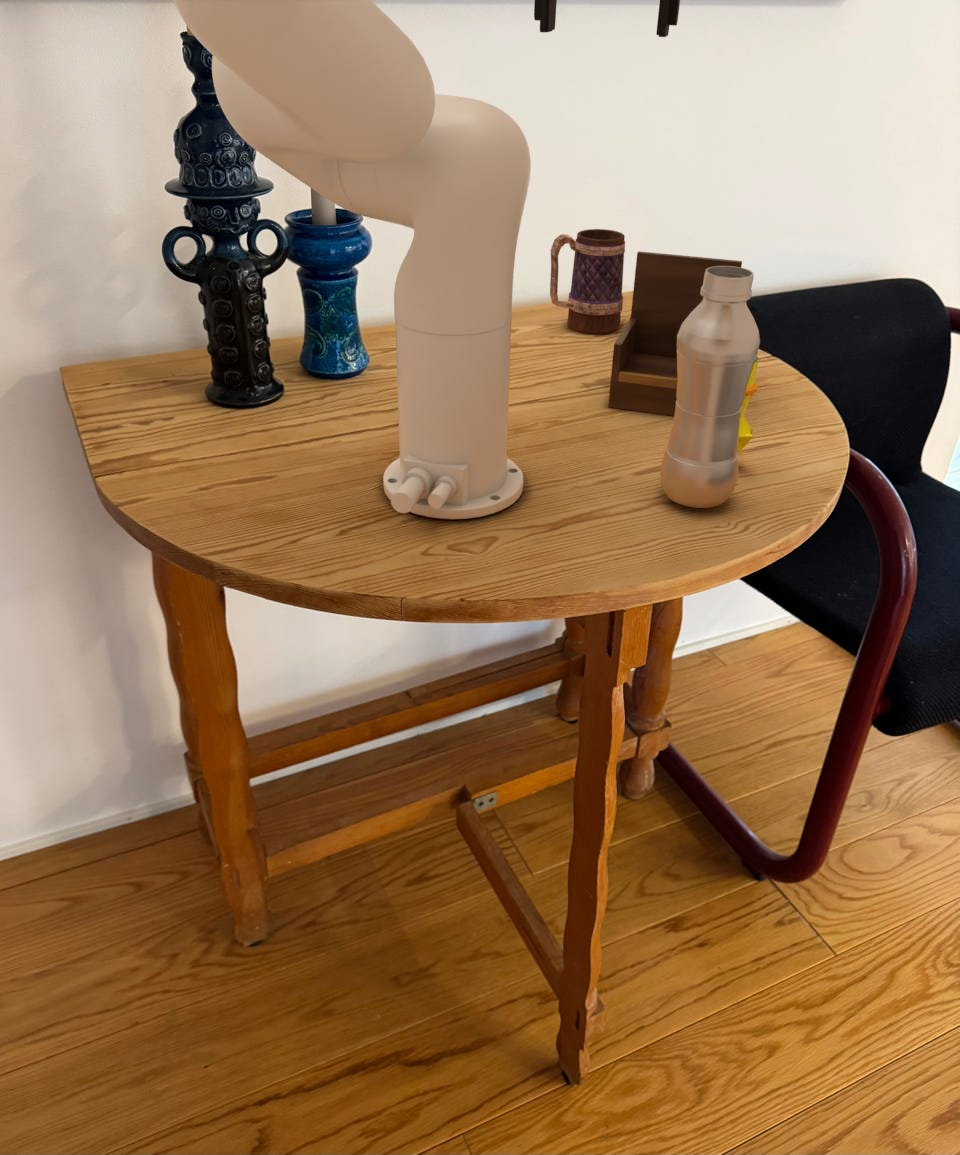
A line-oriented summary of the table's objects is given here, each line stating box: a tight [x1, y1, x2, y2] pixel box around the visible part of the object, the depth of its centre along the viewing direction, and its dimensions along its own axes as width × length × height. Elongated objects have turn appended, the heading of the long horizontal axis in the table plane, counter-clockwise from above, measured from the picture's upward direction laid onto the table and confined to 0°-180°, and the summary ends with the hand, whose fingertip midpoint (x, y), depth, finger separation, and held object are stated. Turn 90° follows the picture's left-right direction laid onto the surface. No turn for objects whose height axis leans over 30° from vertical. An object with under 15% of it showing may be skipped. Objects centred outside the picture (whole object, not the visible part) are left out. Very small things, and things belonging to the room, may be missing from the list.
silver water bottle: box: [659, 266, 761, 509], centre depth 79 cm, size 6×7×20 cm
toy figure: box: [737, 355, 759, 455], centre depth 87 cm, size 7×4×12 cm, turn 30°
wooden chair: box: [607, 250, 743, 417], centre depth 101 cm, size 10×11×14 cm
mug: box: [549, 228, 626, 335], centre depth 121 cm, size 10×7×12 cm
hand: (604, 33), depth 79 cm, fingers open, 9 cm apart
